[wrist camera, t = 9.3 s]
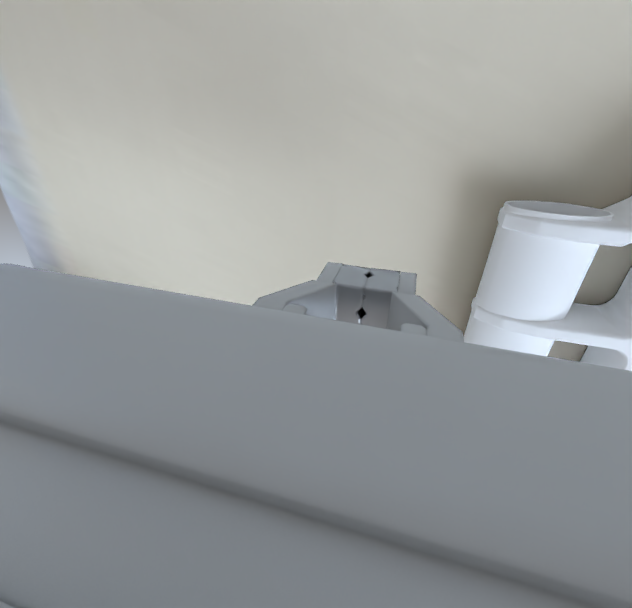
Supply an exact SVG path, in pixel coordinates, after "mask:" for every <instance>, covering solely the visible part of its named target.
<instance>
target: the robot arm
mask: <svg viewBox="0 0 632 608" xmlns="http://www.w3.org/2000/svg"><path fill="white" fill-rule="evenodd" d="M400 272H401V271H393V270H384V269H375V268H365V267H359V266H352V265H345V264H342V263H332V262H328V263H327V264H326V266H325V268H324V269H323V271H322V272H321V274H320V276H319V277H318V279H317V280H311V281H308V282H305V283H302V284H299V285H296V286H293V287H290V288H287V289H284V290H281V291H278V292H275V293H272V294H269V295H266V296H263V297H260V298H258V300H257V301H256V302H255V303H254V304H253V305H252V306H250V305H245V304H239V303H233V302H227V301H221V300H216V299H210V298H204V297H198V296H192V295H186V294H181V293H175V292H169V291H163V290H157V289H152V288H146V287H140V286H134V285H128V284H122V283H117V282H111V281H105V280H99V279H93V278H88V277H82V276H76V275H70V274H64V273H58V272H53V271H47V270H41V269H35V268H30V267H25V266H20V265H14V264H0V608H632V371H629V370H623V369H617V368H611V367H605V366H600V365H594V364H588V363H582V362H576V361H571V360H565V359H559V358H553V357H547V356H541V355H536V354H530V353H524V352H518V351H512V350H507V349H501V348H495V347H489V346H483V345H477V344H472V343H466V342H464V339H463V332H462V331H461V330H460V329H459V328H457V327H456V326H455V325H454V324H453V323H451V322H450V321H449V320H448V319H447V318H445V317H444V316H443V315H442V314H441V313H439V312H438V311H437V310H436V309H435V308H433V307H432V306H431V305H430V304H429V303H427V302H426V301H425V300H424V299H423V298H421V297H420V296H418V295H415V292H416V278H417V274H416V273H407V272H401V274H400Z"/></svg>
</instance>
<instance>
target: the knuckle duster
mask: <svg viewBox="0 0 632 608" xmlns="http://www.w3.org/2000/svg"><path fill="white" fill-rule="evenodd" d="M497 220H498V222H499V223H498V227H497V230H496V233H495V236H494V240H493V243H492V246H491V249H490V253H489V256H488V259H487V262H486V266H485V269H484V272H483V275H482V279H481V282H480V285H479V288H478V292H477V295H476V297H475V298H473V301H472V304H471V308H472V311H471V314H470V318H469V321H468V324H467V327H466V331H465V334H464V337H463V339H464V342H466V343H472V344H477V345H483V346H489V347H495V348H501V349H507V350H512V351H518V352H524V353H530V354H536V355H541V356H547V355H548V353H549V351H550V349H551V347H552V345H553V343H554V341H555V340H557V341H564V342H570V343H576V344H583V345H589V346H588V347H587V349H586V351H585V353H584V355H583V357H582V359H581V360H580V362H582V363H588V364H594V365H600V366H605V367H611V368H617V369H623V370H629V371H632V266H631V268H630V270H629V272H628V274H627V276H626V277H625V279H624V281H623V283H622V285H621V287H620V288H619V290H618V292H617V294H616V295H615V297H614V298H613V299H612V300H610V301H609V302H607V303H604V304H601V305H586V304H578V303H573V301H574V299H575V296H576V294H577V292H578V290H579V288H580V286H581V284H582V282H583V280H584V277H585V275H586V273H587V271H588V269H589V267H590V265H591V263H592V261H593V258H594V256H595V254H596V252H597V250H598V248H599V246H600V245H609V246H618V247H622V246H625V245H627V244H630V243H632V196H631V197H629V198H627V199H625V200H623V201H620V202H618V203H616V204H613V205H611V206H609V207H606V208H604V209H598V208H592V207H587V206H580V205H574V204H566V203H558V202H547V201H530V200H515V201H506V202H505V204H504V207H502V208H501V209H500V212H499V215H498V218H497Z"/></svg>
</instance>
